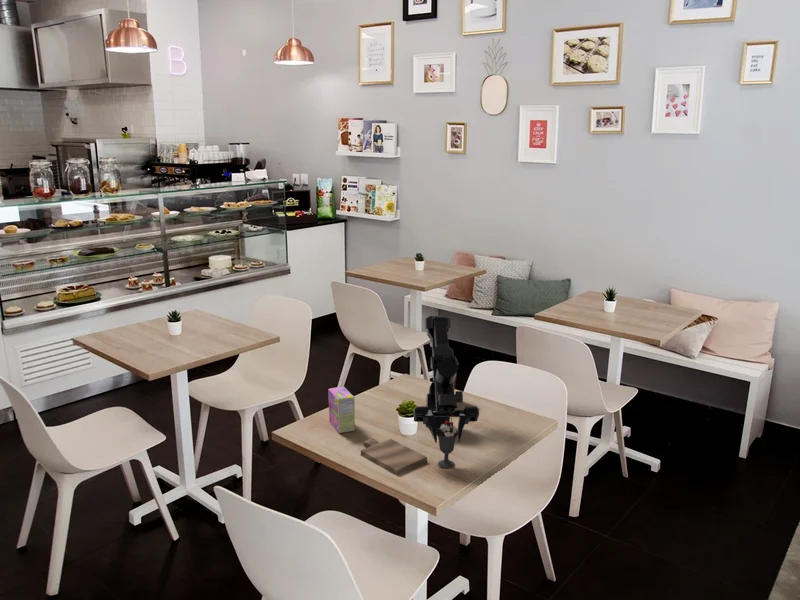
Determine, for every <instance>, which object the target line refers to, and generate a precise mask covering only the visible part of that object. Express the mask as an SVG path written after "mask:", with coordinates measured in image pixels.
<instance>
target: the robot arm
mask: <svg viewBox="0 0 800 600" xmlns="http://www.w3.org/2000/svg"><path fill="white" fill-rule="evenodd" d="M424 320H425V321H424V327H425V330H426V333H427V334H426V335H427V337H428V338H429V340H430V342H431V345H432V346H431V351H432V353H431V355H432V356H430V369H431V371H432V382H431V384H430V386H429V387H428V388H429V389H428V393H427V394H426V399H425V401H426V402H425V406H424V405H423V406H418V405H416V406H415V407H414V409H413V422H415V423H417V422H418V423H422V425H424V426H425V427H426V428H427V429H428V430H429V432H430V434H431V436H432V439H433V440H434V443H436V444H437V443H438V436H437V434H436V430H437V428H440V427H441V425H442V424H443V423H445V421H446V420H447V421H449V423H450V422H451V418H450V417H452V418H459V419H458V423H457V431H458V432H459V434H458V436H457V443H458V444H459V443H460V442H461V438H462V435H463V430H464V427H465V425H468V424H469V423H470V422H471V423H473V422H475V423H476V422H477V421H478V419H479V418H480V417H479V416H480V409H479V407H478V406H476V405H475V406H473V405H470V406H469V405H467V406H464V409H463V410H461V409H459V410H458V409H457V407H458V406H457V403H463V402H464V395H463V391H462V390H461V391H460V390H459V391H455V390H454V380H455V377H456V378H457V371H458V369H459V368H460V363H459V361H458V359H457V356H455V355H454V353H455V352H454V349H453V348H452V347H450V345H449V335H448V334H449V330H451V329H452V322H451V321H452V318H451V317H448V316H447V315H428V317H426V318H425V319H424ZM456 409H457V410H456ZM451 415H453V416H451Z"/></svg>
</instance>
